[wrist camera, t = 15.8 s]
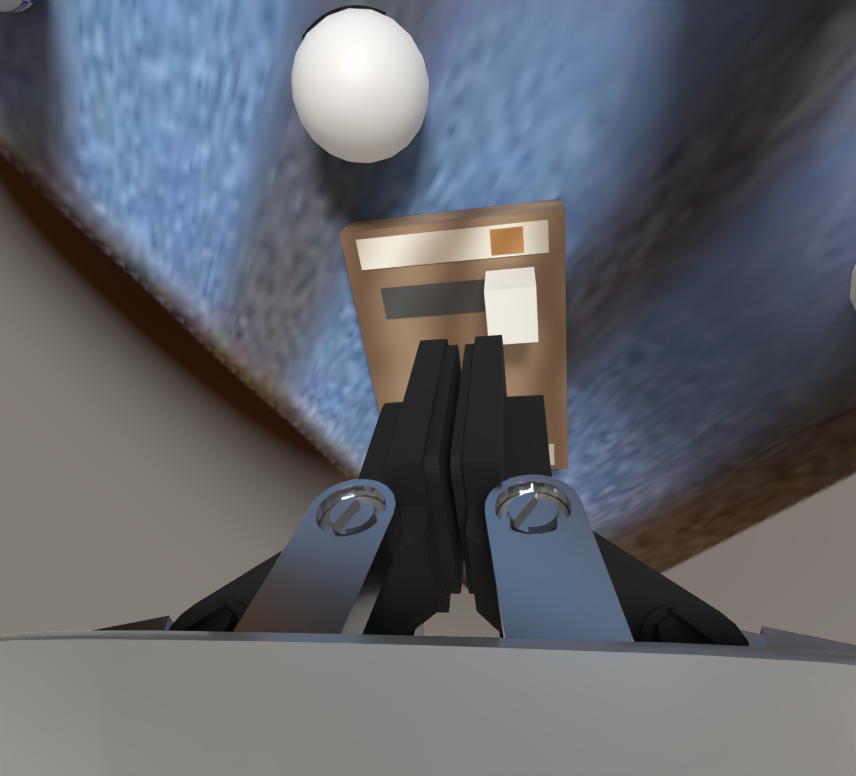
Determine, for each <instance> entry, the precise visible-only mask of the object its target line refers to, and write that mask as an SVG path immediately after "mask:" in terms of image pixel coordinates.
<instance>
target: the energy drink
mask: <svg viewBox="0 0 856 776" xmlns="http://www.w3.org/2000/svg"><path fill="white" fill-rule="evenodd" d="M34 2H35V0H0V12H19V11H23V10H25V9H27V8H28V7H30V6H31V5H32V4H33V3H34Z"/></svg>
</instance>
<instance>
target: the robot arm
mask: <svg viewBox="0 0 856 776" xmlns="http://www.w3.org/2000/svg"><path fill="white" fill-rule="evenodd" d="M463 564H465V570H466V577H467V583H468V590H469V593H470V594H474V596H475V603H476V609H477V612H478V613H479V614H481V615H482V616H483V617H484V618H485V619H486V620H487V621H488V622H489V623H490V624H491V625H492V626H493V627H495V628H496V629H497V630H498V631H499V638H486V637H447V636H424V631H425V630H424V625H423V623H424V622H425V621H426V620H428V619H429V618H430V617H432V615H434V614H435V613H437V612H449V605H450V595H451V593H454V594H457V593H459V594H460V593H461V588H462V576H463ZM0 776H856V645H851V644H847V643H842V642H837V641H832V640H828V639H823V638H818V637H812V636H808V635H803V634H798V633H793V632H788V631H783V630H778V629H773V628H768V627H764V626H763V627H762V628H761V632H760V634H757V633H752V632H747V631H742V630H739V628H738V627H737V626H736V624H734V623H733V622H732V621H731V620H730V619H728V618H727V617H726V616H724V615H723V614H722V613H721V612H720V611H718V610H717V609H715V608H713V607H712V606H710V605H709V604H707V603H705V602H704V601H702V600H700V599H699V598H698V597H696V596H694V595H693V594H691V593H690V592H688V591H687V590H685V589H683V588H682V587H680V586H679V585H677V584H676V583H674V582H672V581H671V580H669V579H668V578H666V577H665V576H663V575H661V574H660V573H658V572H657V571H655V570H654V569H652V568H650V567H649V566H647V565H646V564H644V563H643V562H641V561H639V560H638V559H636V558H635V557H633V556H632V555H630V554H628V553H627V552H625V551H624V550H622V549H621V548H619V547H617V546H616V545H614V544H613V543H611V542H609V541H608V540H606V539H605V538H603V537H602V536H600V535H598V534H597V533H595V532H594V531H592V529H591V526H590V524H589V521H588V518H587V516H586V513H585V510H584V508H583V505H582V502H581V500H580V498H579V497H578V495H577V494H576V492H575V490H573V489H572V488H571V487H570V486H568V485H567V484H566V483H565V482H562V481H560V480H558V479H555V478H553V477H552V474H551V464H550V454H549V444H548V434H547V424H546V414H545V404H544V396H543V395H527V396H508V397H507V389H506V376H505V363H504V350H503V338H502V335H490V336H476V337H475V342H474V344H465V349H464V356H463V364H462V371H461V363H460V355H459V348H458V345H449V343H448V340H447V339H434V340H420V342H419V346H418V349H417V353H416V357H415V360H414V364H413V367H412V371H411V374H410V378H409V382H408V385H407V389H406V392H405V396H404V399H403V402H391V403H385V404H384V405H383V407H382V409H381V412H380V415H379V418H378V421H377V424H376V427H375V430H374V433H373V436H372V439H371V442H370V445H369V448H368V451H367V454H366V457H365V460H364V463H363V466H362V469H361V472H360V475H359V478H358V479H354V480H350V481H346V482H342V483H339V484H337V485H335V486H333V487H331V488H328V489H327V490H326V491H324V492H323V493H322V494H320V495H319V496H318V497H317V498H316V499H315V501H314V502H313V503H312V504H311V505H310V507H309V509H308V510H307V512H306V513H305V515H304V517H303V518H302V520H301V522H300V523H299V525H298V527H297V528H296V530H295V531H294V533H293V535H292V536H291V538H290V540H289V541H288V543H287V545H286V546H285V548H284V549H283V551H281V552H279V553H278V554H276V555H274V556H273V557H271V558H269V559H268V560H266V561H264V562H263V563H261V564H260V565H258V566H256V567H255V568H253V569H251V570H250V571H248V572H246V573H245V574H243V575H242V576H240V577H238V578H237V579H235V580H234V581H232V582H230V583H229V584H227V585H225V586H224V587H222V588H220V589H219V590H217V591H216V592H214V593H212V594H211V595H209V596H207V597H206V598H204V599H203V600H201V601H199V602H198V603H196V604H194V605H193V606H192V607H190V608H189V609H188V610H187V611H185V612H184V613H183V614H181V615H180V616H179V618H178V619H177V620H176V621H175V622H172V620H171V618H170V617H169V615H168V616H164V617H158V618H153V619H148V620H143V621H137V622H133V623H127V624H122V625H117V626H112V627H107V628H102V629H97V630H91V631H52V632H28V633H16V634H7V635H0Z"/></svg>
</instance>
